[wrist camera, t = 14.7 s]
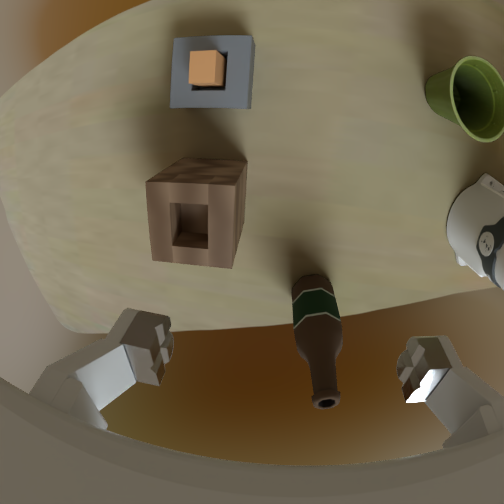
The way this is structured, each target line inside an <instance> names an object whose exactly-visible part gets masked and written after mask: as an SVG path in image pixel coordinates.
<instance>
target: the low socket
mask: <svg viewBox="0 0 504 504" xmlns="http://www.w3.org/2000/svg"><path fill="white" fill-rule="evenodd" d="M206 50H217V51H218V52H219V53H220V54H221V55H222V56H223V57H224V58H225V59H226V60H227V73H226V87H202V86H198V85H194V84H189V63H190V51H206ZM254 56H255V43H254V40H253V37H252V36H248V35H216V36H195V37H182V38H174V43H173V56H172V72H171V92H170V108H240V109H251V100H252V85H253V70H254Z"/></svg>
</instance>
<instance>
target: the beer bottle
mask: <svg viewBox="0 0 504 504" xmlns="http://www.w3.org/2000/svg"><path fill="white" fill-rule="evenodd" d="M292 305H293V324H294V334H295V340H296V345H297V350H298V352H299V354H300V356H301V357H302V358H303V359H305V360H306V361H307V362H308V364H309V367H310V371H311V377H312V384H313V391H314V395H313V396H312V402H313V405H314V407H316V408H319V409H328V408H333V407H334V406H336V405H337V404H339V401H340V392H339V391H337V379H336V366H335V363H336V362H335V361H336V357H337V355H338V354H339V353H340V351H341V348H342V344H343V342H342V325H341V320H340V315H339V311H338V307H337V303H336V299H335V295H334V291H333V287H332V285H331V282H330V281H328V280H326V279H325V278H323V277H321V276H320V275H318V274H316V275H310V276H304V277H302V278H301V279H300V280H299V281H298V282H297V283H296V285H295V286H294V287H293V288H292Z"/></svg>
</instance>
